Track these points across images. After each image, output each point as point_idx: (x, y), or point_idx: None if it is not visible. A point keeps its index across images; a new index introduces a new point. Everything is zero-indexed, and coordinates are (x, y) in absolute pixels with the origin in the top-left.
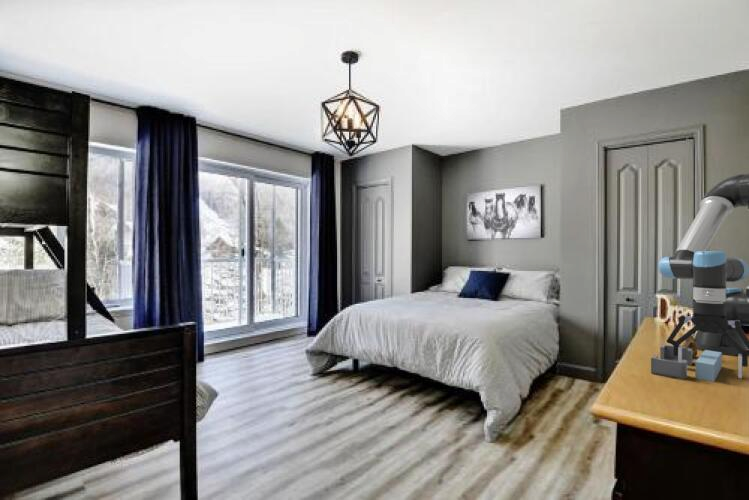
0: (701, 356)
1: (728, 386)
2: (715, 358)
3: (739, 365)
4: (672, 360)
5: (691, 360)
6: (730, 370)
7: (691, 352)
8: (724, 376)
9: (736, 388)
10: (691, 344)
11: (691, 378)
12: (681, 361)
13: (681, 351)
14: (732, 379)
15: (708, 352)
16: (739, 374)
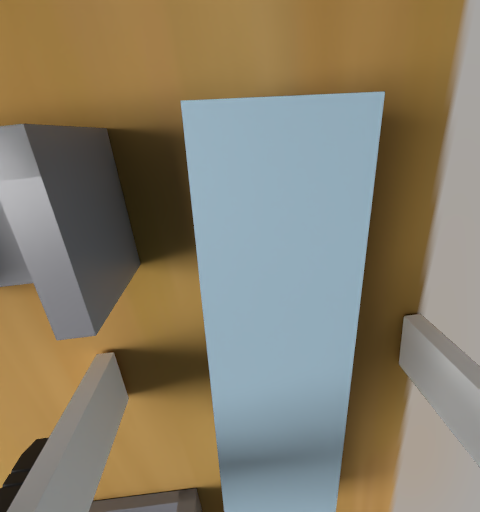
0: (231, 477)
1: (349, 504)
2: (327, 466)
3: (458, 431)
4: (3, 273)
5: (124, 263)
6: None
7: (95, 302)
8: None
9: (374, 507)
10: None
11: (220, 506)
12: (108, 415)
13: (74, 508)
14: (369, 398)
15: (248, 258)
16: (416, 378)
